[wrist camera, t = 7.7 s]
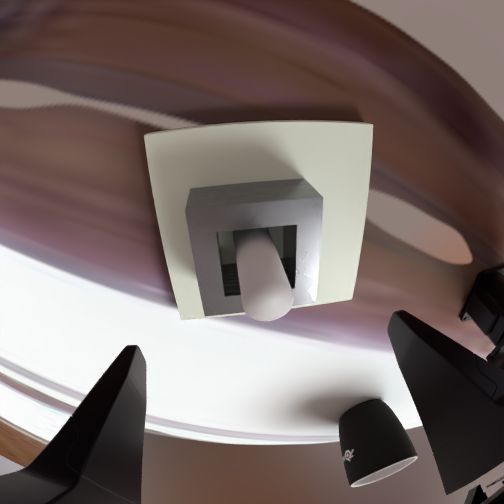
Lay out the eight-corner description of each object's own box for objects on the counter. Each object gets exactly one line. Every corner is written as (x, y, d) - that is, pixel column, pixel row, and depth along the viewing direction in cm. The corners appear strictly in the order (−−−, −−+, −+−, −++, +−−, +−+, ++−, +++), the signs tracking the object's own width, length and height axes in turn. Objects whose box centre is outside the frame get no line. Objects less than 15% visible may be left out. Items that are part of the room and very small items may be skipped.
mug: (330, 408, 30) (353, 479, 22) (396, 384, 30) (427, 448, 22) (329, 439, 37) (345, 494, 28) (382, 421, 37) (403, 472, 28)
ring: (304, 178, 15) (323, 197, 12) (301, 272, 18) (315, 302, 16) (190, 188, 15) (185, 210, 12) (205, 283, 18) (204, 316, 15)
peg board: (364, 122, 15) (445, 148, 9) (346, 290, 21) (387, 361, 15) (148, 132, 14) (100, 162, 8) (182, 310, 20) (175, 394, 14)
